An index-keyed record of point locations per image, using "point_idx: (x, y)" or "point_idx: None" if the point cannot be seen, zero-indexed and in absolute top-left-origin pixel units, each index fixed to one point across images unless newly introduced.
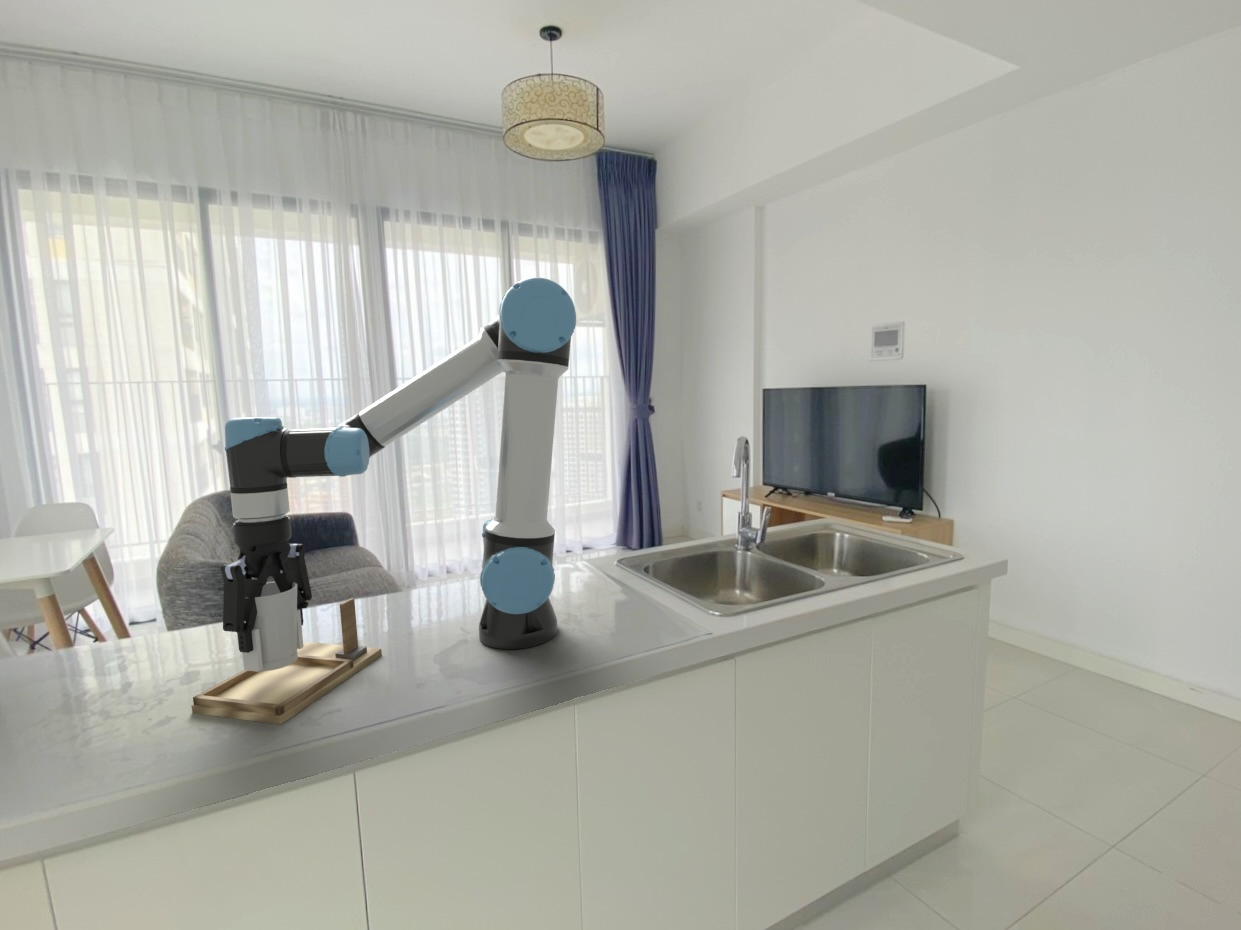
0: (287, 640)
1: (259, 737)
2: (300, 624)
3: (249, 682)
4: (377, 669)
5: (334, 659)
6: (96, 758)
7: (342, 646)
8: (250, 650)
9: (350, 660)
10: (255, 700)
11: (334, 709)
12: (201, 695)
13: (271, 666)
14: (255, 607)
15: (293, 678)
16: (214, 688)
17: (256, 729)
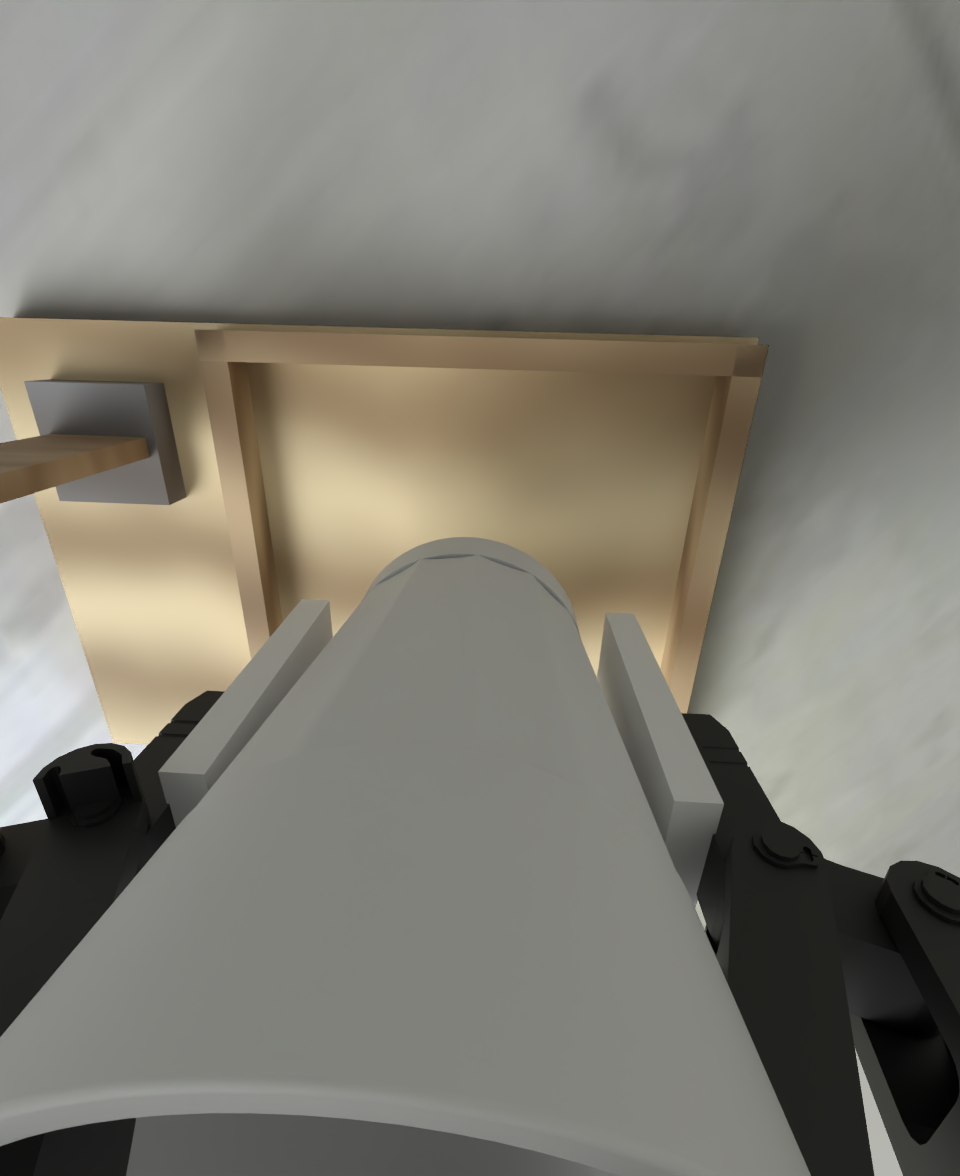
0: (479, 600)
1: (847, 356)
2: (241, 683)
3: None
4: (150, 215)
5: (230, 450)
6: (919, 802)
7: (68, 561)
8: (688, 719)
9: (207, 338)
10: (615, 575)
11: (591, 141)
12: None
13: (564, 594)
14: (781, 1075)
15: None
16: None
17: (778, 426)
